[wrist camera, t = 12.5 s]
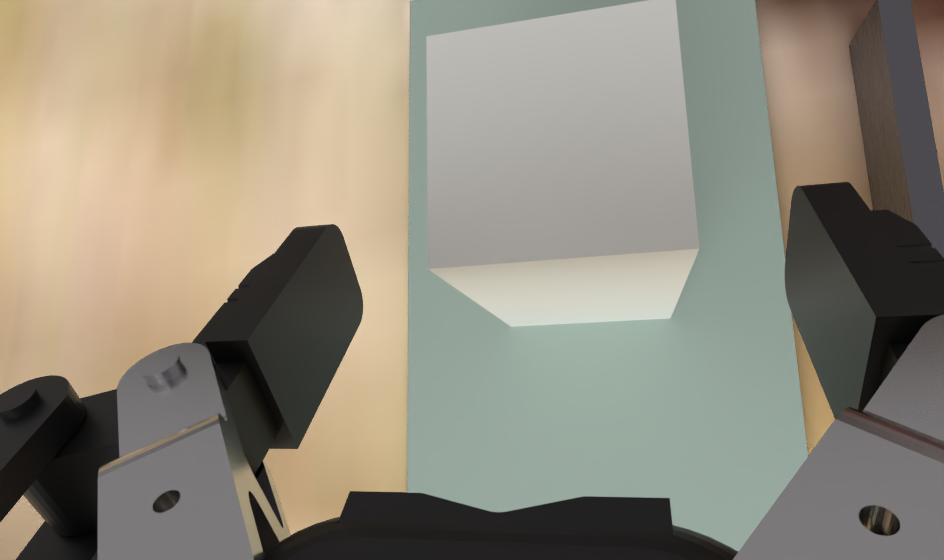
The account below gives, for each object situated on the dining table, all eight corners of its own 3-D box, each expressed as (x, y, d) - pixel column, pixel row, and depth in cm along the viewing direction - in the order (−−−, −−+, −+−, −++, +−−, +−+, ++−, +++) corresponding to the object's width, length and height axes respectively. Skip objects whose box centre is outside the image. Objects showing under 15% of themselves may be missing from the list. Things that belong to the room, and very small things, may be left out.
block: (657, 166, 21) (675, -5, 12) (670, 318, 20) (699, 248, 11) (506, 182, 22) (426, 36, 13) (511, 326, 21) (428, 268, 12)
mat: (746, -49, 22) (748, -57, 22) (818, 578, 18) (822, 582, 18) (413, 7, 25) (410, 1, 24) (410, 561, 21) (406, 564, 20)
